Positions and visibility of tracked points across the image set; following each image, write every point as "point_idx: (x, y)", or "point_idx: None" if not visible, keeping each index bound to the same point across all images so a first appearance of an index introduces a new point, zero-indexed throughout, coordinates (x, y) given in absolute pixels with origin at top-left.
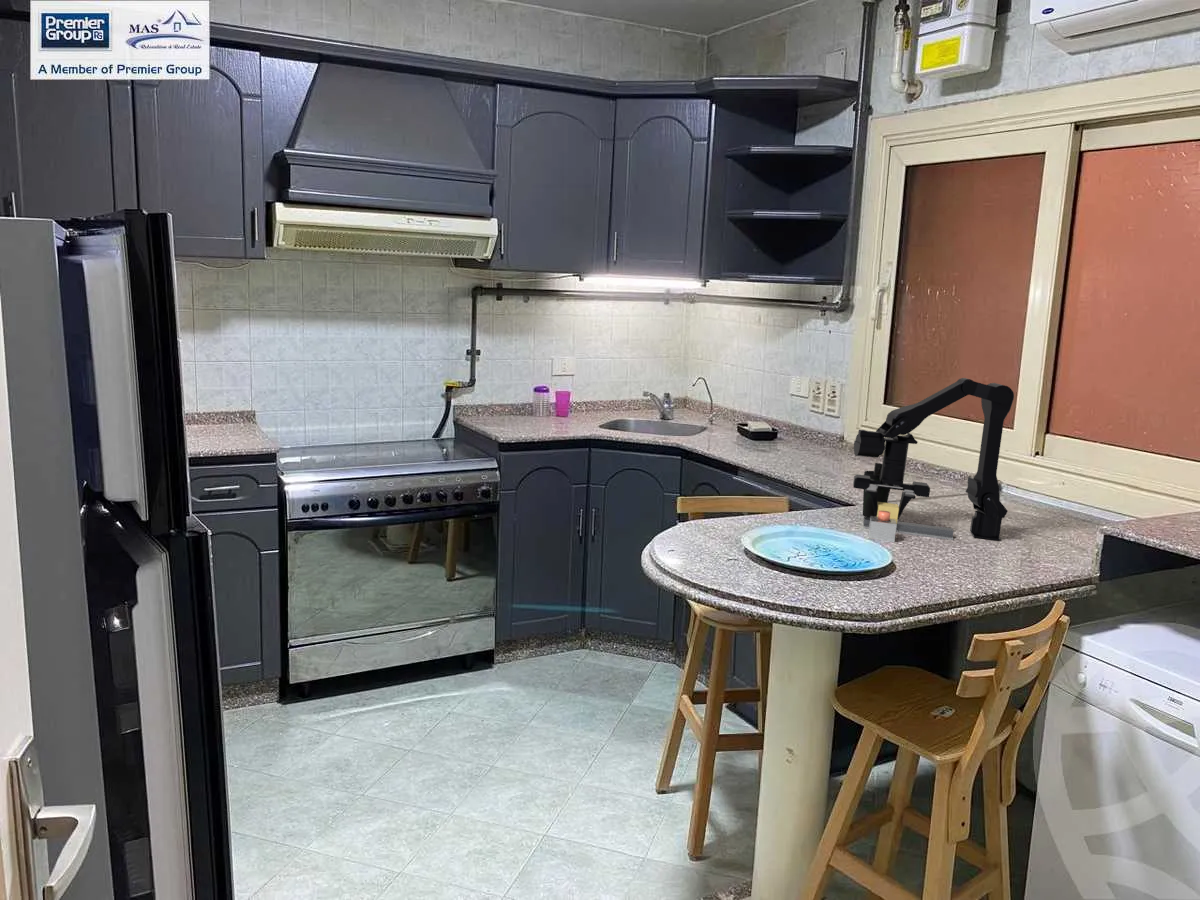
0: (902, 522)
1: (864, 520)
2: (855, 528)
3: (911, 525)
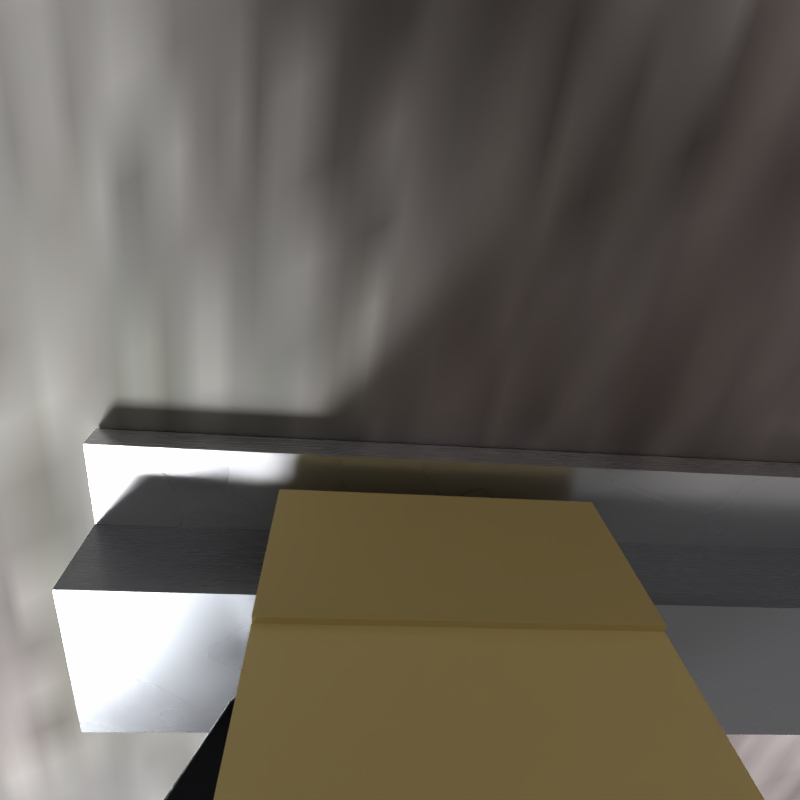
0: (690, 640)
1: (92, 716)
2: (39, 733)
3: (764, 728)
